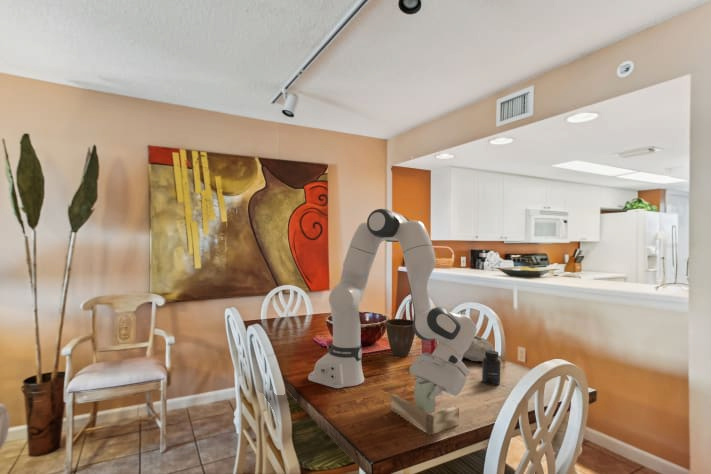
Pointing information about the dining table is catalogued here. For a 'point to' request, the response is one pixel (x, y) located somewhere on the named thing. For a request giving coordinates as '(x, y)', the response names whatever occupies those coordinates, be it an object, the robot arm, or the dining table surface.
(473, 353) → the decorative shell
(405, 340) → the plant pot
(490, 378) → the supplement bottle
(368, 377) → the dining table surface
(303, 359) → the dining table surface
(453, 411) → the corner bracket
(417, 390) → the sage block
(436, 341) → the soda can
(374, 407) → the dining table surface
